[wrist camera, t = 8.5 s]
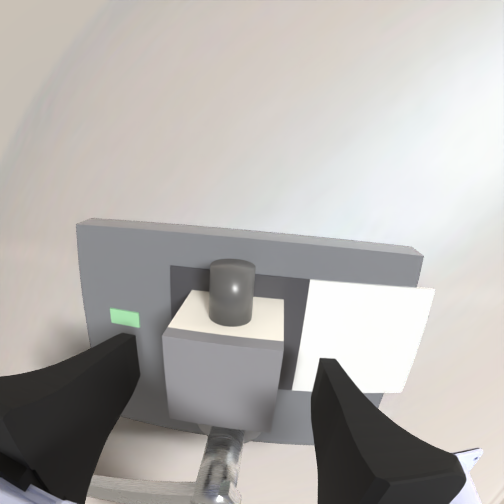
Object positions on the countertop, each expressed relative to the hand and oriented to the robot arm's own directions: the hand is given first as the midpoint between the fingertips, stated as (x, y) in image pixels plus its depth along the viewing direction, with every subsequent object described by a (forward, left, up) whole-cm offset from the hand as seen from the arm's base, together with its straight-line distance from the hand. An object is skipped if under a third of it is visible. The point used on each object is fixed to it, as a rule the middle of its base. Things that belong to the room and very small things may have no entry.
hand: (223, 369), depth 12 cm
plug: (0, 0, -3) cm, 3 cm away
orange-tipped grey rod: (-8, +5, -2) cm, 10 cm away
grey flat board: (-2, 0, -4) cm, 5 cm away
